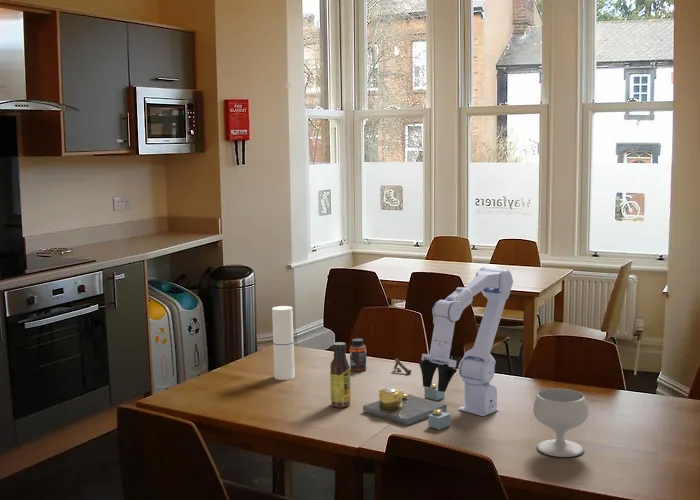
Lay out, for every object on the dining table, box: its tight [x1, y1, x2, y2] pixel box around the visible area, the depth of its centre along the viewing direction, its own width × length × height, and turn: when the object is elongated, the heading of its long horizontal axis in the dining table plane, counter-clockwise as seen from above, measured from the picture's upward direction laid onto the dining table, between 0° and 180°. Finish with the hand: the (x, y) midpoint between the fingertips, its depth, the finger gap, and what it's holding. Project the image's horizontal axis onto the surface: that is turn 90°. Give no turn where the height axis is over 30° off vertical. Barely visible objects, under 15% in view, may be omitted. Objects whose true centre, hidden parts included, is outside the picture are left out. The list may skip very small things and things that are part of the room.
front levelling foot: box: [424, 382, 446, 401], centre depth 258 cm, size 5×4×4 cm
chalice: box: [532, 387, 589, 458], centre depth 212 cm, size 14×14×15 cm
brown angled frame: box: [393, 358, 412, 376], centre depth 289 cm, size 2×8×4 cm, turn 39°
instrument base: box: [362, 387, 448, 427], centre depth 245 cm, size 18×18×7 cm
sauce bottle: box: [329, 341, 352, 409], centre depth 252 cm, size 6×6×20 cm
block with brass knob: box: [427, 409, 451, 431], centre depth 232 cm, size 4×5×4 cm
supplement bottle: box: [349, 338, 367, 373], centre depth 293 cm, size 6×6×11 cm
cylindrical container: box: [271, 305, 296, 381], centre depth 285 cm, size 7×7×25 cm
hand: (433, 389), depth 229 cm, fingers open, 7 cm apart
